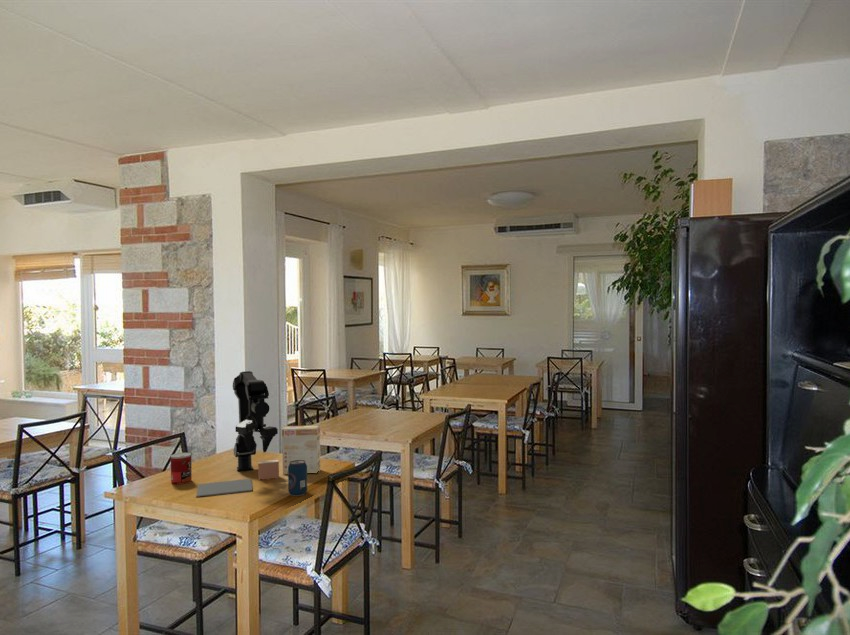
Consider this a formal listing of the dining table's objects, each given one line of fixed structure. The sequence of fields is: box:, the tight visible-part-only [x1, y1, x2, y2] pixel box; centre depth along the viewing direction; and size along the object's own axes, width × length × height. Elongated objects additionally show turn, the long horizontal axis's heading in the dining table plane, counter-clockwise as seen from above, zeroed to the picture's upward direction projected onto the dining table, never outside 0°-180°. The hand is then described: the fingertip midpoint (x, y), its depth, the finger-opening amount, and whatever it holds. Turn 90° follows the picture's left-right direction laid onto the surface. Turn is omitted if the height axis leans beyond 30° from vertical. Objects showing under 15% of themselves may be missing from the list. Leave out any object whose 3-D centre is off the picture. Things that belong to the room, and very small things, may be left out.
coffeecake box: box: [281, 425, 322, 475], centre depth 241 cm, size 15×7×20 cm, turn 89°
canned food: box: [170, 452, 193, 484], centre depth 230 cm, size 8×8×11 cm
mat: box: [195, 478, 254, 498], centre depth 219 cm, size 16×20×1 cm
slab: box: [257, 459, 280, 480], centre depth 232 cm, size 3×8×7 cm, turn 109°
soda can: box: [287, 460, 308, 497], centre depth 211 cm, size 7×7×12 cm
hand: (256, 450), depth 227 cm, fingers open, 9 cm apart
